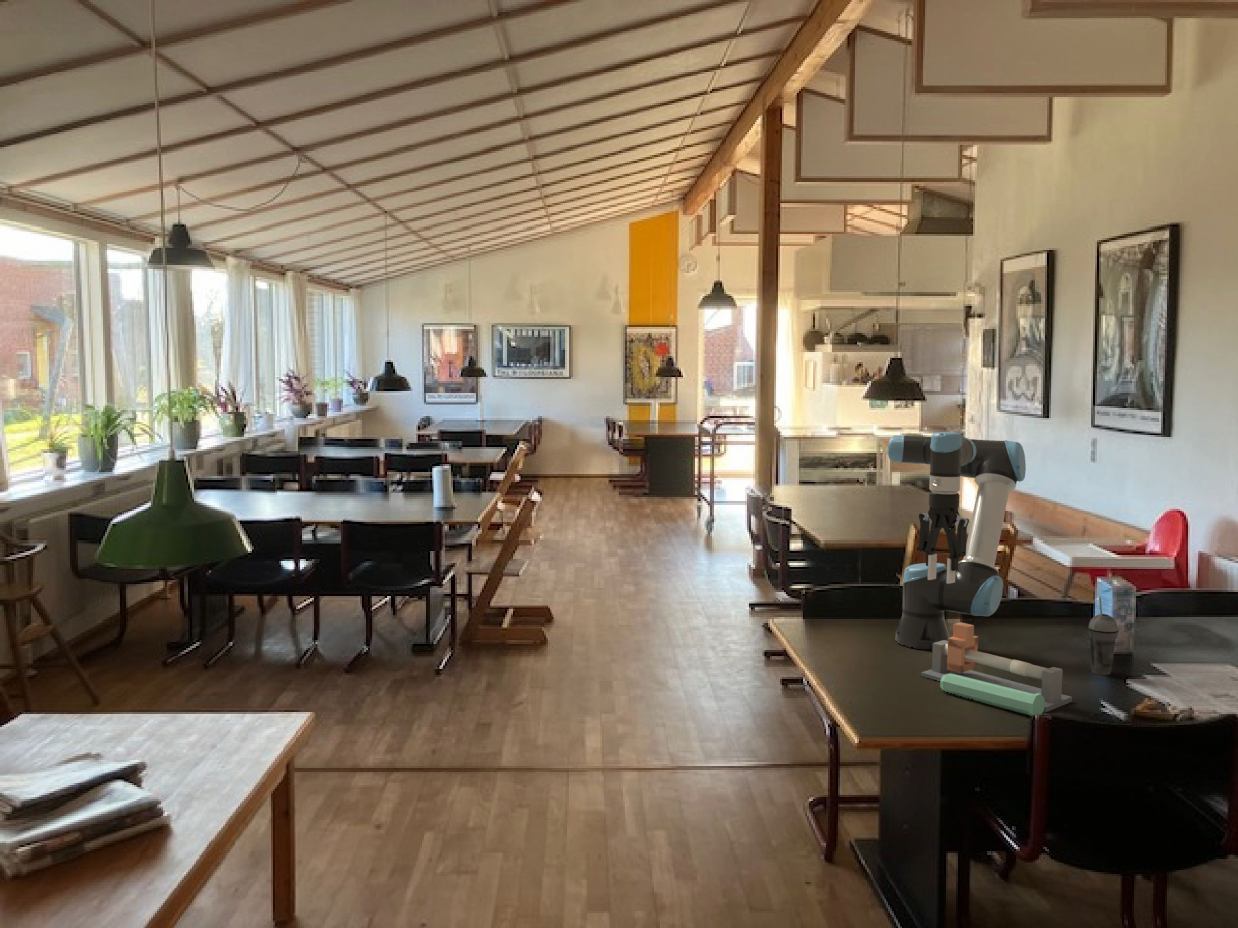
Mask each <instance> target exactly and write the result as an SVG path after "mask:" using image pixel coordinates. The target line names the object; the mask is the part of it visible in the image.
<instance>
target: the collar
mask: <svg viewBox="0 0 1238 928" xmlns="http://www.w3.org/2000/svg"><path fill="white" fill-rule="evenodd" d="M974 632H975V625H974V624H969V623H965V622H956V623H953V624H952V636H949V637H950V638H948V652H947V670H951V671H954V672H958V673H963V672H966V671H969V670H974V669H977V668H978V663H974V662H970V661H967V660H965V648H967V649H971V650H975V651H979V636H977V635H975V633H974Z"/></svg>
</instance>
